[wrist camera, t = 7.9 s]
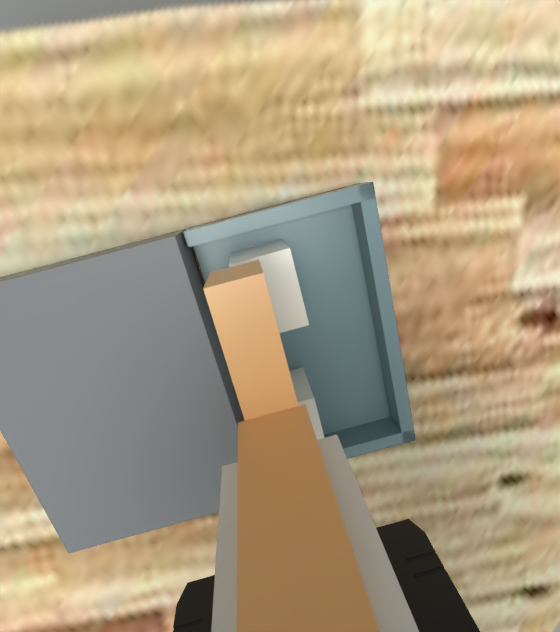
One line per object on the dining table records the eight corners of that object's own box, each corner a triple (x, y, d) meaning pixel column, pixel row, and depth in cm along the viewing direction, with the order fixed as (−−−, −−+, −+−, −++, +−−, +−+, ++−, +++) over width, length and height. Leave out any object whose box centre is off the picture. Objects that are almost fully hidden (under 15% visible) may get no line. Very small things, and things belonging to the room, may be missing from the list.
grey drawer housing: (258, 457, 27) (261, 500, 24) (92, 502, 27) (68, 553, 23) (185, 228, 22) (174, 236, 19) (-18, 282, 22) (-72, 300, 18)
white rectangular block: (249, 317, 24) (298, 303, 24) (251, 341, 20) (309, 324, 20) (230, 252, 22) (281, 238, 23) (228, 264, 19) (290, 248, 19)
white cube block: (273, 432, 26) (316, 419, 26) (278, 472, 22) (330, 458, 22) (257, 379, 25) (302, 366, 25) (260, 413, 21) (314, 397, 21)
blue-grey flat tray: (400, 418, 28) (415, 439, 25) (261, 456, 27) (263, 481, 25) (359, 183, 23) (373, 182, 20) (189, 227, 22) (183, 231, 20)
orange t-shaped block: (336, 529, 20) (446, 904, 9) (287, 543, 20) (342, 936, 9) (265, 258, 16) (317, 374, 5) (203, 274, 16) (129, 426, 5)
